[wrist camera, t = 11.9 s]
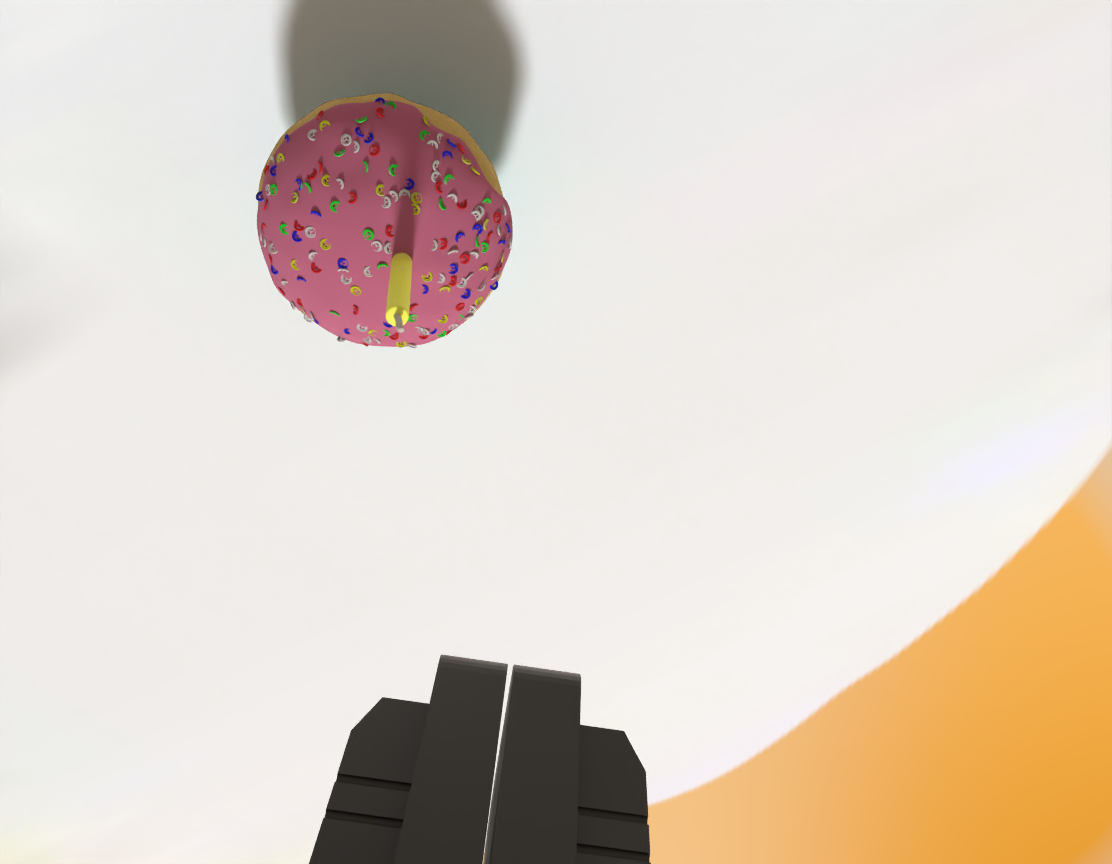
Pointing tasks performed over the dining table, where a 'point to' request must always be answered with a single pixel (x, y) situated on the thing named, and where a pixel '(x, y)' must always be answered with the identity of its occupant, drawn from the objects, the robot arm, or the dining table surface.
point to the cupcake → (382, 221)
